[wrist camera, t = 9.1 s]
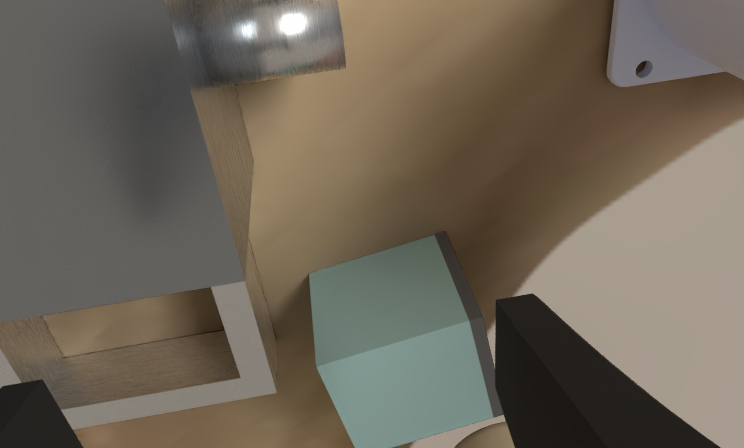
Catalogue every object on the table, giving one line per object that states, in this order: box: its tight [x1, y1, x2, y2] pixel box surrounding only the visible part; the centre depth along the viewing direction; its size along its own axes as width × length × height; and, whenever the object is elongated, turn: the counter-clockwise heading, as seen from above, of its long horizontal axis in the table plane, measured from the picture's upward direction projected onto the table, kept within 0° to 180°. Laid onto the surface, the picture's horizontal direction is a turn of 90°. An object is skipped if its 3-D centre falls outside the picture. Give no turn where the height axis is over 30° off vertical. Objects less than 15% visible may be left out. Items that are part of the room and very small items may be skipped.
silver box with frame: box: [0, 0, 346, 430], centre depth 15 cm, size 13×16×8 cm
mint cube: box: [309, 231, 504, 448], centre depth 20 cm, size 4×4×5 cm
